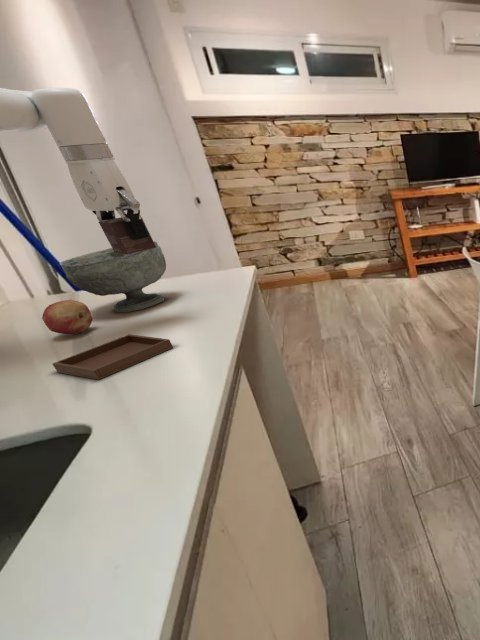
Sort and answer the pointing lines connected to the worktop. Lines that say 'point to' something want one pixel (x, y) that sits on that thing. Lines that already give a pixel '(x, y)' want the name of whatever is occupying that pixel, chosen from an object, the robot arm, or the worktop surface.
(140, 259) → the bowl
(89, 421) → the worktop surface
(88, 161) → the robot arm
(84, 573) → the worktop surface
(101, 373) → the desk tray
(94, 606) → the worktop surface
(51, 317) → the fruit
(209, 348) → the worktop surface
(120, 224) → the box
